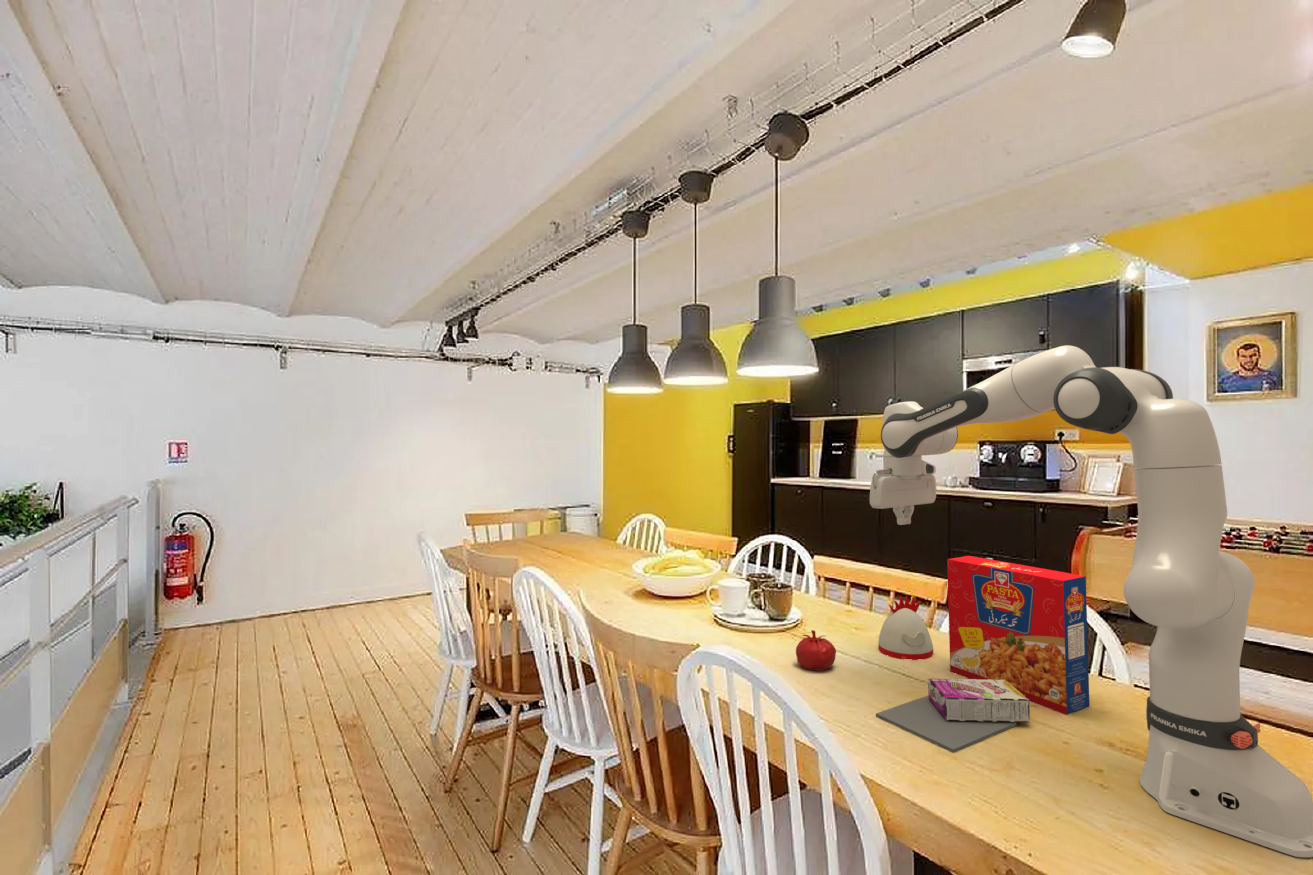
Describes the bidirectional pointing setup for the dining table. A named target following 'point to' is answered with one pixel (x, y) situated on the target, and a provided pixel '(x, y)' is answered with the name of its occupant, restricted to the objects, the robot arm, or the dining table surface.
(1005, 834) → the dining table surface
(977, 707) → the candy bar box
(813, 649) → the pomegranate
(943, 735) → the rubber mat
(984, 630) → the pasta box
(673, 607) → the dining table surface
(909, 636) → the kitchen timer
